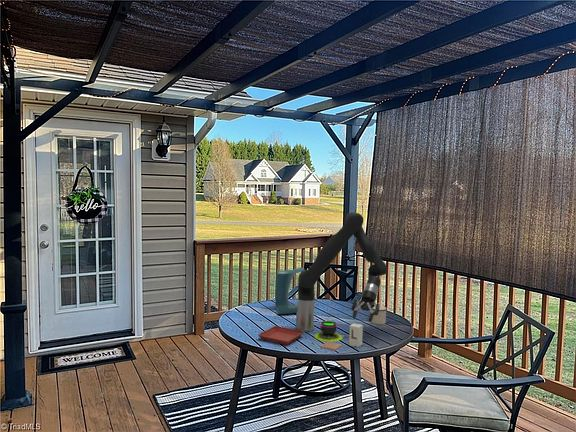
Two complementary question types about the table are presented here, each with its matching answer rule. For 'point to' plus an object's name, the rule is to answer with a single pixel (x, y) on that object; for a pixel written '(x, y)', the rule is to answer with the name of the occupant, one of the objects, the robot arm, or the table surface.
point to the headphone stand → (285, 291)
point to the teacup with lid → (379, 315)
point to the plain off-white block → (356, 335)
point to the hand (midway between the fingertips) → (361, 319)
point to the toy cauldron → (328, 331)
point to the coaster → (331, 346)
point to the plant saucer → (280, 335)
